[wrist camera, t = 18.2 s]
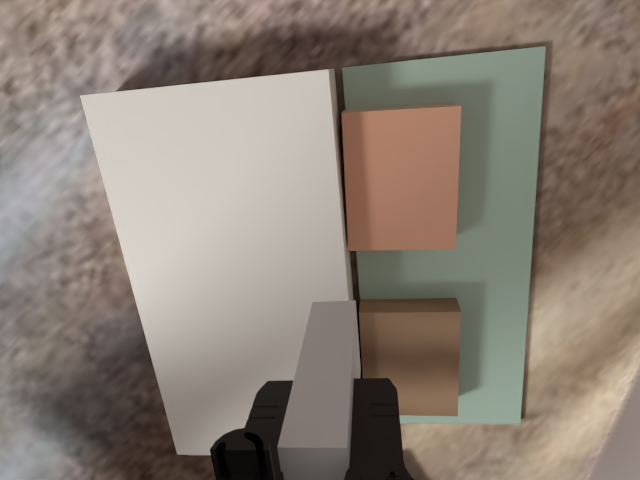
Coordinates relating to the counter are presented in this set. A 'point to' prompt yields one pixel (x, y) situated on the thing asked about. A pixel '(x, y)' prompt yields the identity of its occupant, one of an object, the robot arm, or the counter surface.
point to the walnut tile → (414, 351)
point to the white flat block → (225, 232)
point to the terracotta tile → (402, 176)
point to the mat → (471, 215)
